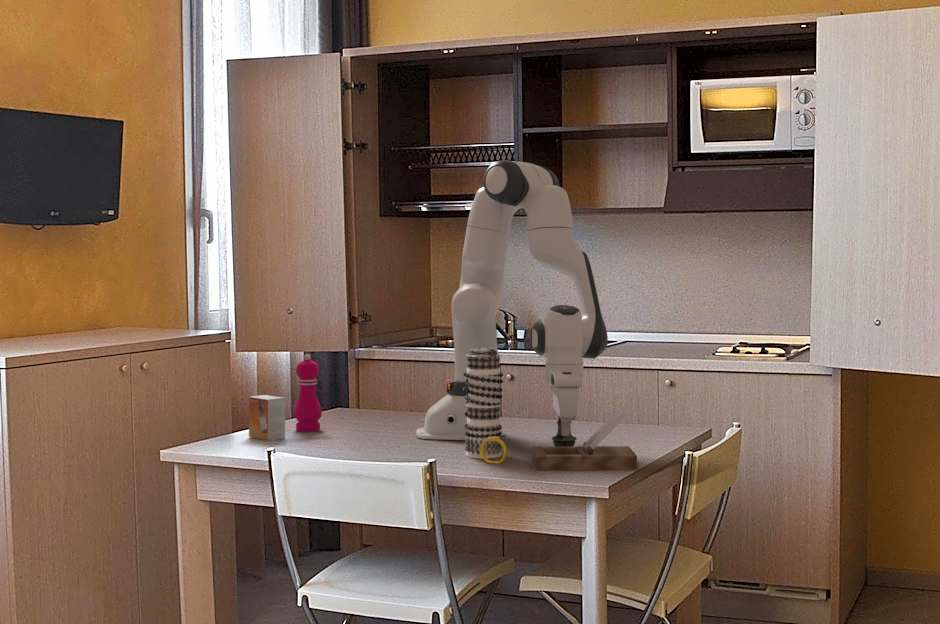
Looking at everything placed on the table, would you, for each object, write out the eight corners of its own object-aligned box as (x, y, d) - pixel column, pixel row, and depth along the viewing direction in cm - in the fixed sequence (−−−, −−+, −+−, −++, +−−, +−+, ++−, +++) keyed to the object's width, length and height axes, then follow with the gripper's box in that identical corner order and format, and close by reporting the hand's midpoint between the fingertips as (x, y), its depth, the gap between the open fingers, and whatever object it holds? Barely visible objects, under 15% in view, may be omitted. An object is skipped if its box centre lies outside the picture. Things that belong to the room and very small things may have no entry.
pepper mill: (289, 431, 315) (288, 355, 314) (303, 426, 322) (302, 352, 321) (313, 432, 313) (312, 356, 311) (326, 428, 319) (326, 353, 318)
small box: (248, 437, 306) (248, 396, 305) (266, 434, 310) (265, 394, 309) (268, 441, 300) (267, 399, 300) (285, 438, 305) (285, 397, 304)
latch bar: (589, 453, 267) (585, 449, 267) (586, 448, 272) (582, 445, 272) (627, 414, 267) (623, 411, 267) (624, 411, 272) (620, 407, 272)
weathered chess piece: (576, 451, 286) (577, 400, 286) (576, 455, 281) (576, 404, 280) (551, 450, 287) (552, 400, 286) (551, 455, 281) (551, 404, 280)
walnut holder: (536, 470, 264) (536, 450, 263) (532, 459, 276) (532, 440, 275) (636, 469, 264) (637, 449, 264) (628, 459, 276) (628, 440, 276)
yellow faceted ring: (479, 464, 272) (478, 438, 272) (484, 462, 275) (483, 436, 275) (504, 464, 270) (502, 437, 270) (509, 462, 272) (507, 436, 272)
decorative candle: (500, 459, 276) (500, 350, 274) (460, 458, 278) (460, 350, 276) (506, 452, 285) (506, 346, 283) (467, 451, 287) (467, 346, 285)
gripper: (547, 370, 293) (547, 426, 294) (554, 380, 272) (554, 441, 273) (573, 369, 293) (572, 426, 294) (582, 380, 273) (582, 441, 274)
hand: (564, 433), depth 283 cm, fingers closed on weathered chess piece, 3 cm apart
